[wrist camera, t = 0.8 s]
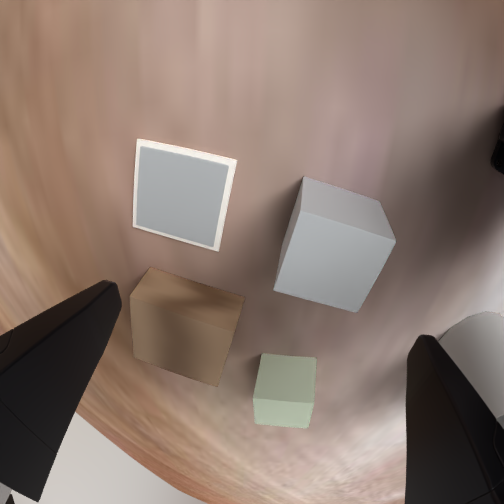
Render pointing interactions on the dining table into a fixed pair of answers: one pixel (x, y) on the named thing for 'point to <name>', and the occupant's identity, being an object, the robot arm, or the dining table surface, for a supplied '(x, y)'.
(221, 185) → the tile
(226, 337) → the walnut base
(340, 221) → the grey cube
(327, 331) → the dining table surface
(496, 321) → the cup
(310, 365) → the sage cube
